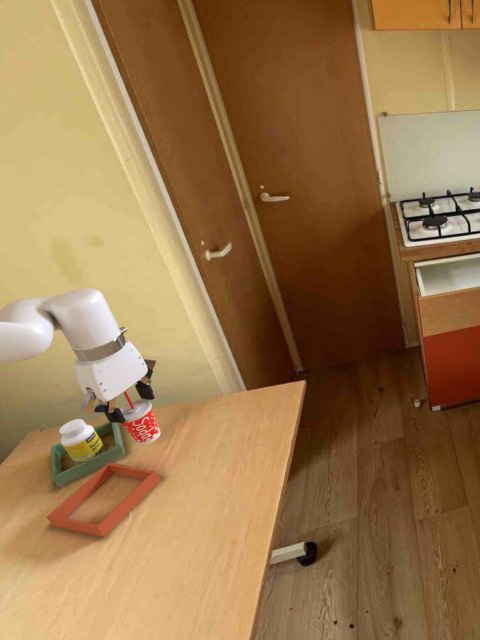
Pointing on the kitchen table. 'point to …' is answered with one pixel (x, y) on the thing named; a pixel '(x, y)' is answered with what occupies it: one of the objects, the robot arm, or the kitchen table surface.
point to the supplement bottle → (81, 441)
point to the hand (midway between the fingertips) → (133, 409)
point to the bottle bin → (90, 464)
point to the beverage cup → (140, 421)
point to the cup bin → (93, 484)
